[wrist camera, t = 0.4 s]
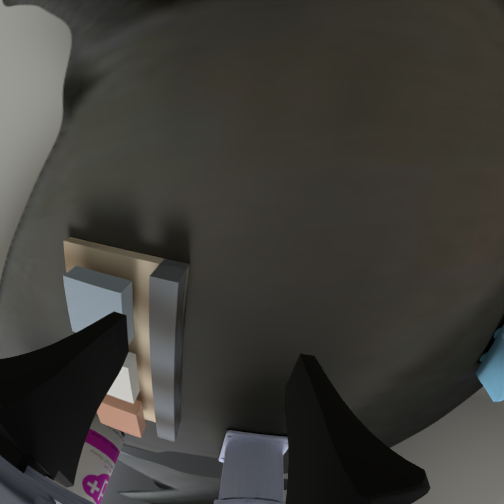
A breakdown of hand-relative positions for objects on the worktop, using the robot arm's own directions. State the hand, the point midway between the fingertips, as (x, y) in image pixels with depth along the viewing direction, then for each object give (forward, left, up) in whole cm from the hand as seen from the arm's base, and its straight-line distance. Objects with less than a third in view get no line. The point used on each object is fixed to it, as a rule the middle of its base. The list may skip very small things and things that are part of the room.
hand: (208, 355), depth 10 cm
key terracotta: (-18, +9, -7) cm, 22 cm away
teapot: (-4, -33, -10) cm, 35 cm away
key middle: (-11, +9, -7) cm, 16 cm away
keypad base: (-11, +9, -10) cm, 17 cm away
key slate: (-4, +9, -7) cm, 12 cm away
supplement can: (-31, +16, -10) cm, 36 cm away
